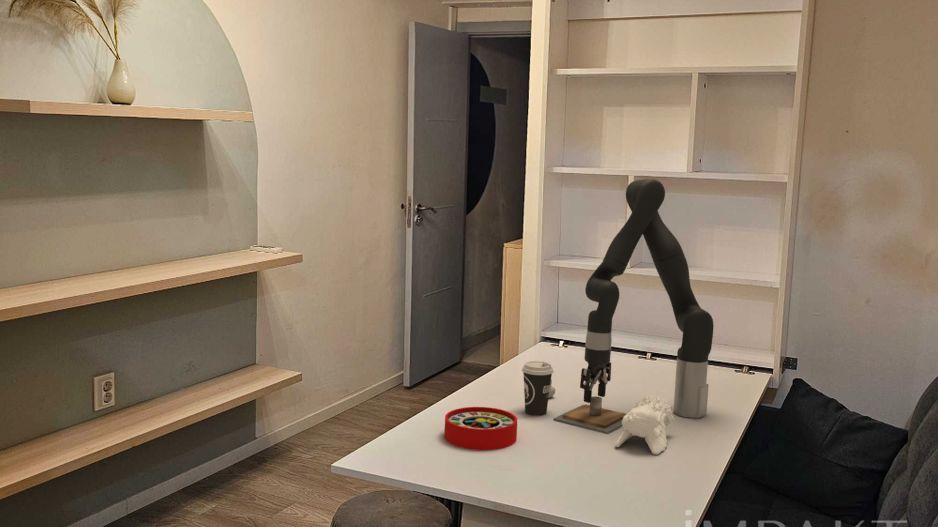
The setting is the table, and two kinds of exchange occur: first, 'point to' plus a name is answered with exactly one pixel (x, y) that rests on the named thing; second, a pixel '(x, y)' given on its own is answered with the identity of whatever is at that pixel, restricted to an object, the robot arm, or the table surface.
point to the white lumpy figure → (648, 423)
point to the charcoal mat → (606, 430)
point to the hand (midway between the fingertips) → (594, 399)
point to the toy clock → (480, 428)
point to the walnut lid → (594, 414)
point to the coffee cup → (537, 386)
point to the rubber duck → (551, 390)
